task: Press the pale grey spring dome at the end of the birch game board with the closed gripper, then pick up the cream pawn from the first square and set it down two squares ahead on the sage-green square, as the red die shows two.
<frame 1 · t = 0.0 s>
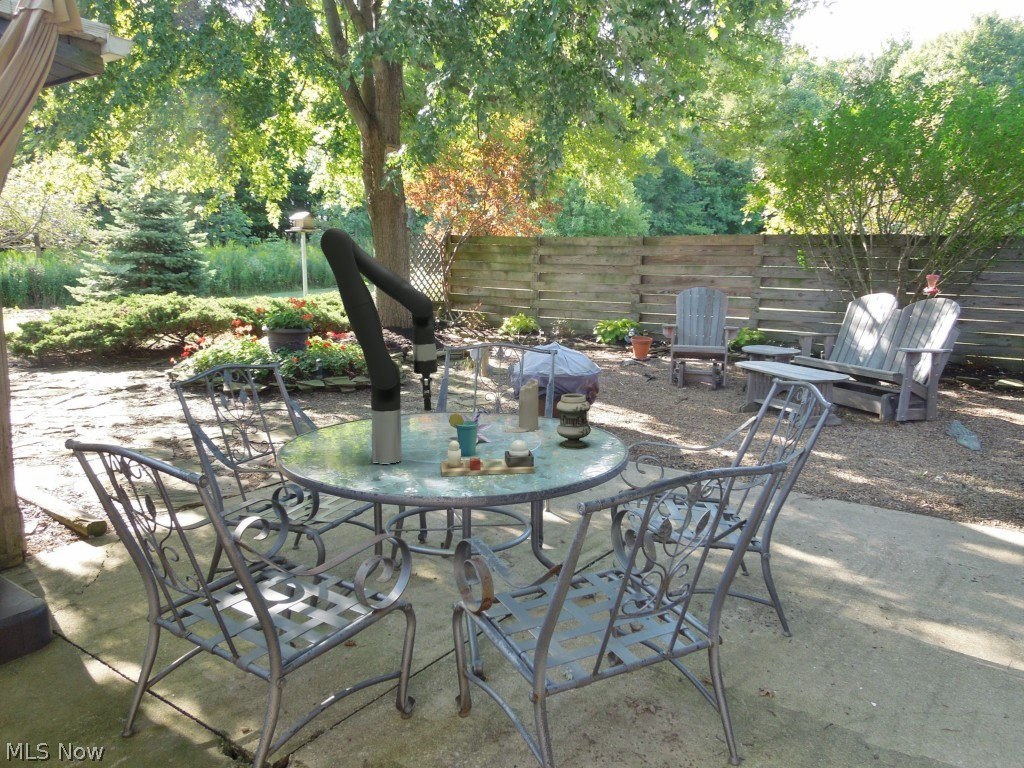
hand: (427, 407, 214), 17 cm above the table, tool pointing down, fingers open, 8 cm apart
board: (487, 469, 205), on the table
cup: (470, 454, 223), on the table
candle: (520, 430, 258), on the table
dome: (519, 449, 206), point 6 cm above the table, slide at 0.0 cm
apothecary jar: (573, 445, 234), on the table
pawn: (454, 465, 204), point 2 cm above the table, touching board
water lily: (473, 443, 239), on the table
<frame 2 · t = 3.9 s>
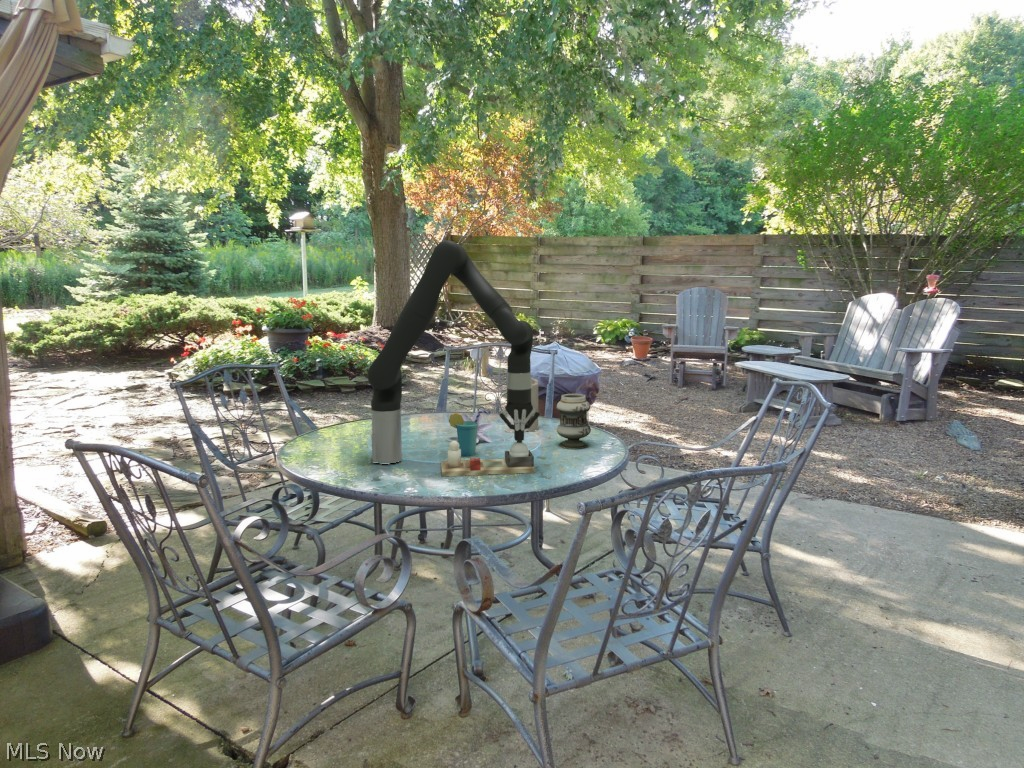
hand: (519, 441, 205), 8 cm above the table, tool pointing down, fingers closed
dome: (519, 451, 206), point 5 cm above the table, slide at 0.6 cm, touching gripper
everything else where it was.
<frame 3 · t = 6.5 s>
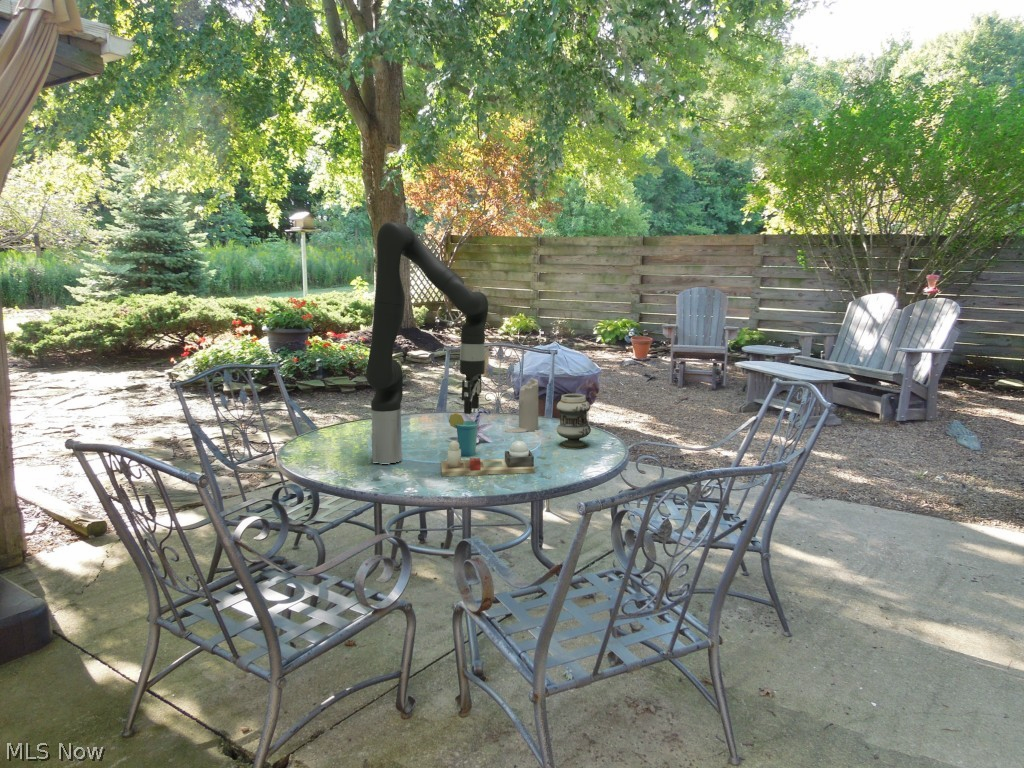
hand: (471, 410, 203), 18 cm above the table, tool pointing down, fingers open, 8 cm apart
dome: (519, 450, 206), point 6 cm above the table, slide at 0.3 cm
everything else where it was.
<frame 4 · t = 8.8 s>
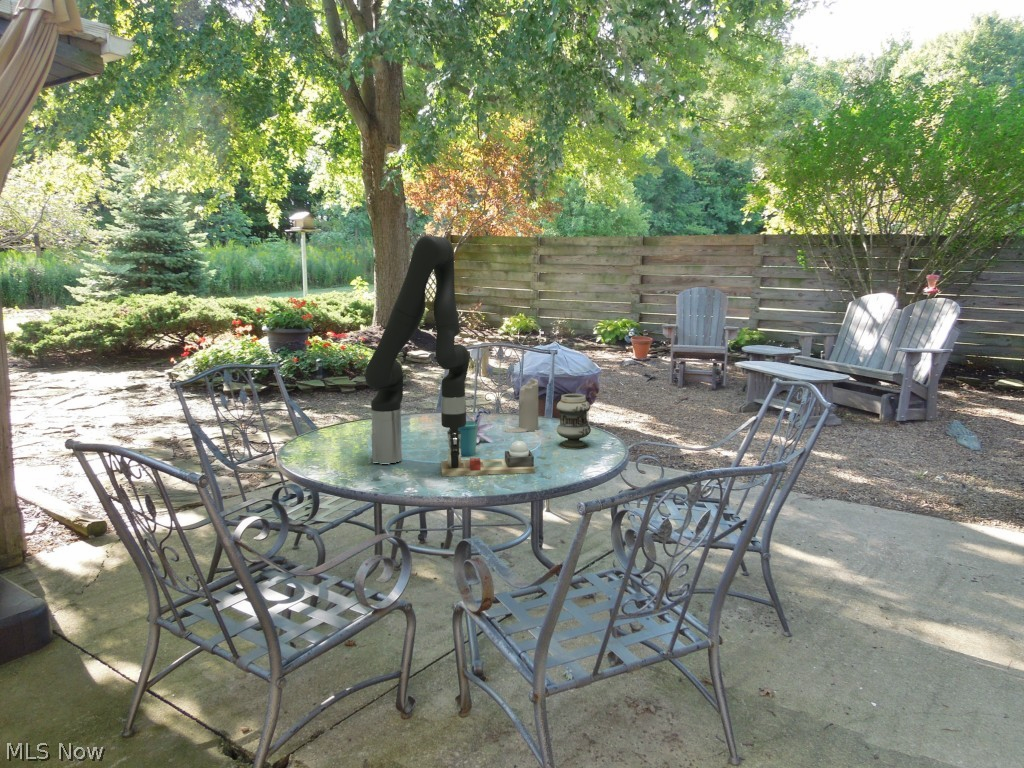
hand: (454, 465, 204), 2 cm above the table, tool pointing down, fingers closed on pawn, 4 cm apart
pawn: (454, 465, 204), point 2 cm above the table, touching gripper
everything else where it was.
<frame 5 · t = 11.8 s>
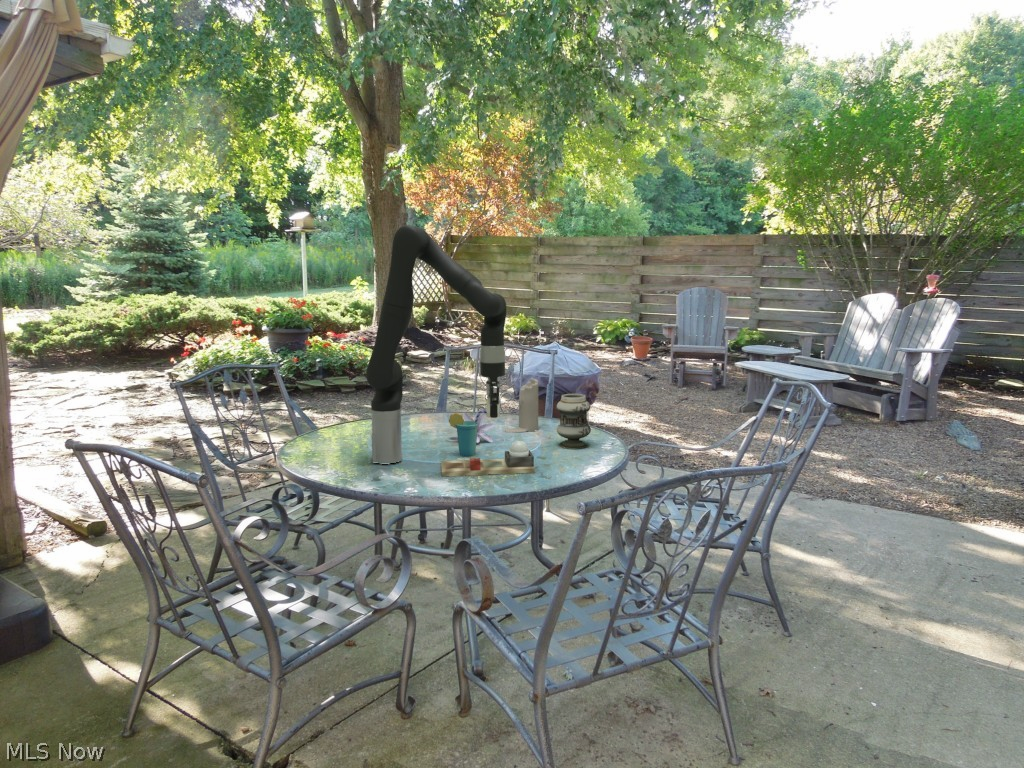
hand: (493, 415, 203), 17 cm above the table, tool pointing down, fingers closed on pawn, 4 cm apart
pawn: (493, 415, 203), point 17 cm above the table, touching gripper
everything else where it was.
when the fingers open (3 cm above the table, at t = 14.6 s): pawn drops 1 cm, resting on board.
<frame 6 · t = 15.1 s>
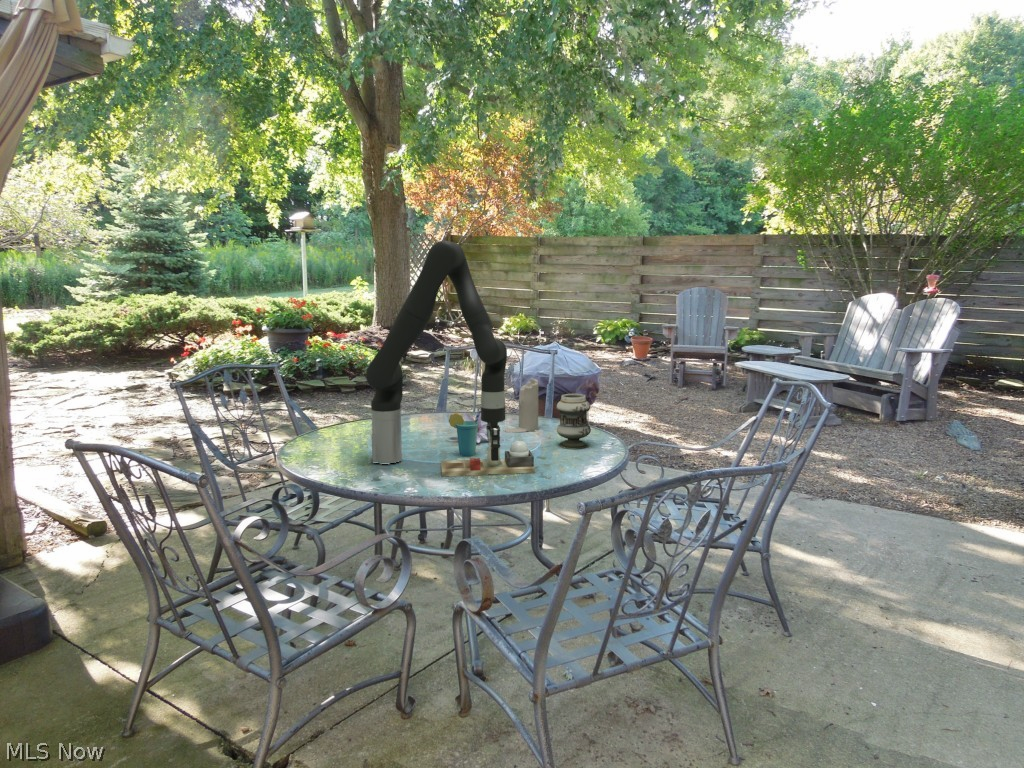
hand: (493, 456, 205), 4 cm above the table, tool pointing down, fingers open, 8 cm apart
pawn: (493, 464, 205), point 2 cm above the table, touching board
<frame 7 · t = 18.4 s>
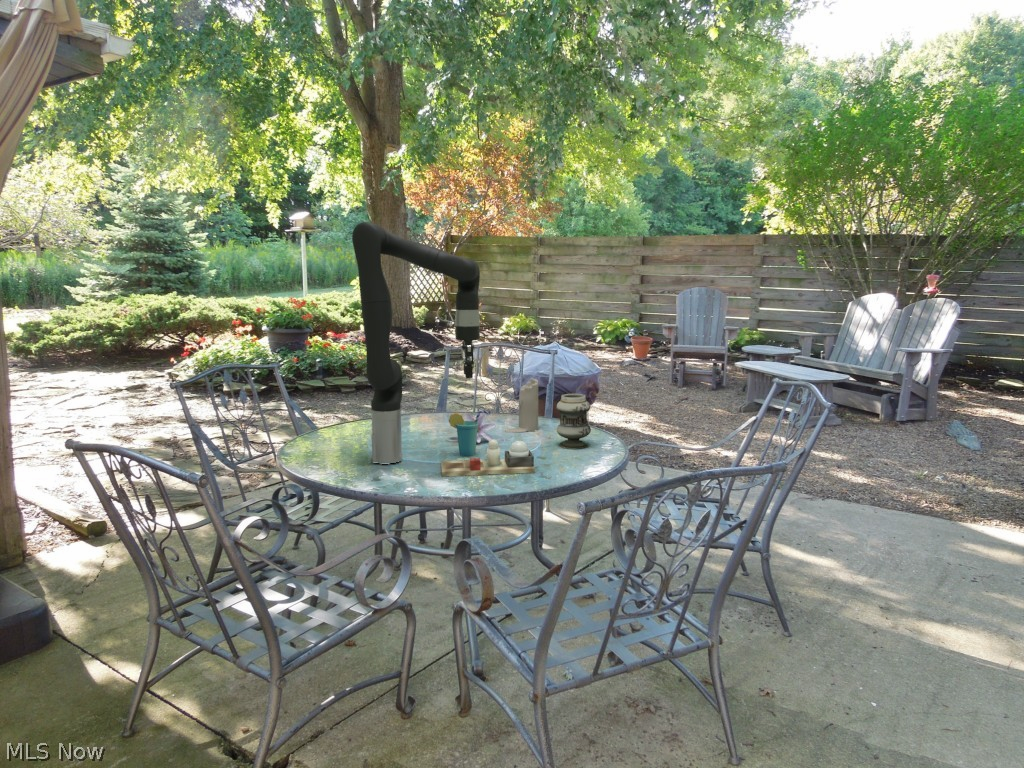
hand: (468, 376, 208), 28 cm above the table, tool pointing down, fingers open, 8 cm apart
at the end: pawn 0.0 cm from the target spot on the board, point 1.6 cm above the board's base; pawn tilted 0°; the gripper is holding nothing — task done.
